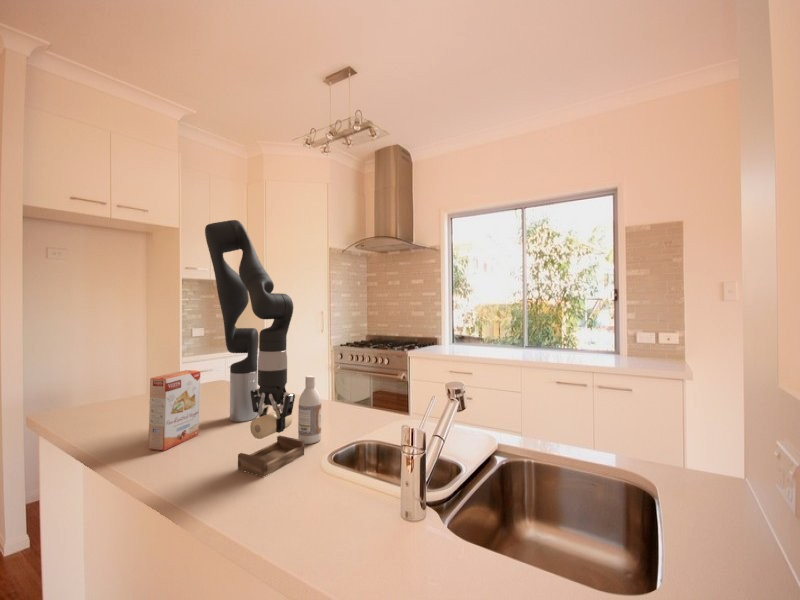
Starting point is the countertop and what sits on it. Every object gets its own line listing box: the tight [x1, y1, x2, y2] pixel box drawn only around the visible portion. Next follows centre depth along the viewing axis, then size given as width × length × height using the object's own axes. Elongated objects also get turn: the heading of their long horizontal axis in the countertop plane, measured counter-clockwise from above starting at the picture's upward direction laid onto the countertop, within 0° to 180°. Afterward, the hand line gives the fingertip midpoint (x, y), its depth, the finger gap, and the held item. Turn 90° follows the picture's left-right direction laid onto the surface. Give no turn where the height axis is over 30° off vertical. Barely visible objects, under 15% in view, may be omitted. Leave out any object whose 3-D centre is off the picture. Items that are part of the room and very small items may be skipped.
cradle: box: [237, 434, 305, 477], centre depth 101 cm, size 15×9×4 cm, turn 155°
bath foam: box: [297, 375, 322, 445], centre depth 116 cm, size 7×7×20 cm
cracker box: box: [148, 369, 201, 452], centre depth 114 cm, size 14×6×21 cm, turn 168°
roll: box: [249, 410, 293, 440], centre depth 100 cm, size 10×5×5 cm, turn 155°
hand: (271, 429), depth 100 cm, fingers closed on roll, 5 cm apart
